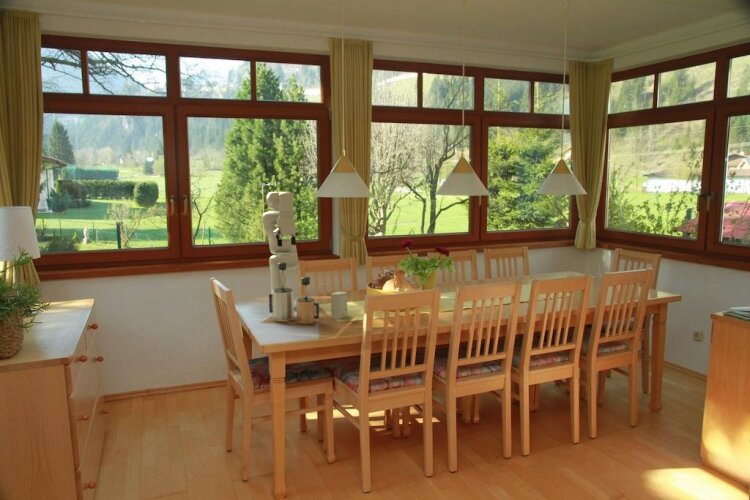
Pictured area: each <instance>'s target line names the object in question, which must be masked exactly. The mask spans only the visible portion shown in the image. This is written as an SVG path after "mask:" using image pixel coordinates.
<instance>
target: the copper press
mask: <svg viewBox="0 0 750 500" xmlns="http://www.w3.org/2000/svg"><path fill="white" fill-rule="evenodd" d="M296 316H297V323H299V324H312V323H315V318H316V319H318V318H320V303H319V302H316V299H315V298H314V297H309V296H307V300H305V296H304V297H303V296H302V297H298V298H297V299H296Z"/></svg>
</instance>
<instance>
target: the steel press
mask: <svg viewBox="0 0 750 500" xmlns="http://www.w3.org/2000/svg"><path fill="white" fill-rule="evenodd" d="M272 302H273V308H272ZM268 307H269V314H272V315H273V320H274V321H277V322H288V321H292V320H293V318H294V316H295V315H294V312H295V311H294V310H295V309H294V308H295V307H294V290H293V289H292V288H290V287H287V288H284V290H282V288H276V289H273V291H272V294H271V293H269V294H268Z"/></svg>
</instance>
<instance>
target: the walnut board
mask: <svg viewBox="0 0 750 500" xmlns="http://www.w3.org/2000/svg"><path fill="white" fill-rule="evenodd" d="M324 319H325V317H319V318H318V319H316V318H315V323H312V324H299V323H297V315H294V318H293V320H292V321H288V322H277V321H274V320H273V314H272V315H271V316H270V317H267V318H266V319H264V320H263V321H261V322H260V324H271V325H283V326H284V325H285V326H296V327H297V326H298V327H312V328H313V327H315V326H317V325H318V324H319V323H321V322H322V321H323V320H324Z"/></svg>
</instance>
